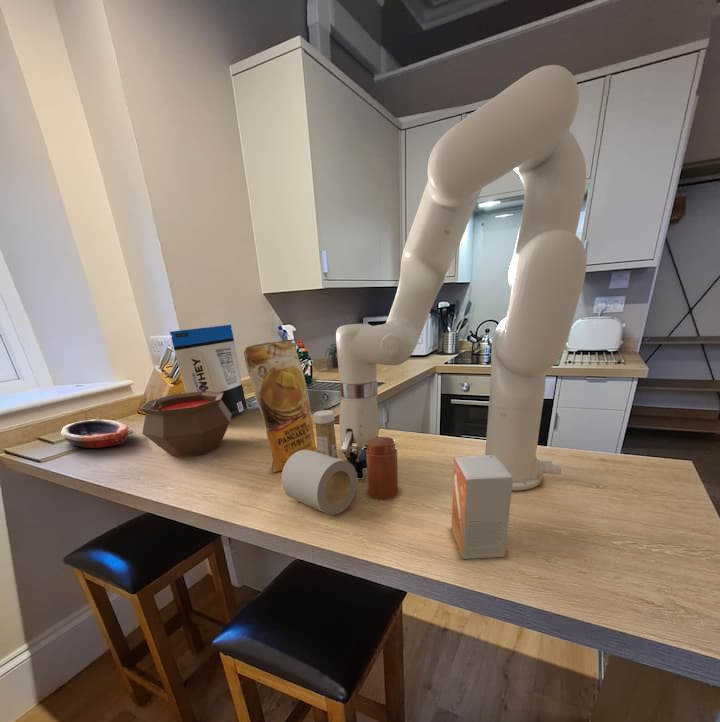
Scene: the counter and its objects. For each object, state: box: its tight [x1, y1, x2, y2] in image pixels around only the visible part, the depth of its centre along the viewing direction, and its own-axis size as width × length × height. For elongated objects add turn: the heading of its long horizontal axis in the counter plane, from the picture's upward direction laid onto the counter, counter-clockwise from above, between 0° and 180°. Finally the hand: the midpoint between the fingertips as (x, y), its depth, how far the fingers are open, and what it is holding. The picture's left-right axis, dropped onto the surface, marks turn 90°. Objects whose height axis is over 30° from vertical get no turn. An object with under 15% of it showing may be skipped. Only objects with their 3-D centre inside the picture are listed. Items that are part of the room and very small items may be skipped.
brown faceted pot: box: [138, 382, 232, 458], centre depth 108 cm, size 24×24×16 cm
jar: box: [366, 436, 399, 500], centre depth 76 cm, size 6×6×11 cm
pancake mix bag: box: [243, 339, 317, 473], centre depth 91 cm, size 7×19×28 cm, turn 148°
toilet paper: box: [281, 450, 359, 516], centre depth 73 cm, size 10×10×10 cm
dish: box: [60, 417, 129, 449], centre depth 122 cm, size 16×31×5 cm, turn 52°
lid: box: [352, 448, 367, 470], centre depth 85 cm, size 6×6×2 cm
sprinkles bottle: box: [312, 409, 339, 459], centre depth 88 cm, size 5×5×14 cm
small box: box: [450, 454, 513, 560], centre depth 58 cm, size 8×6×13 cm
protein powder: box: [169, 324, 248, 419], centre depth 134 cm, size 10×24×30 cm, turn 149°
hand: (363, 470), depth 86 cm, fingers closed on lid, 6 cm apart
